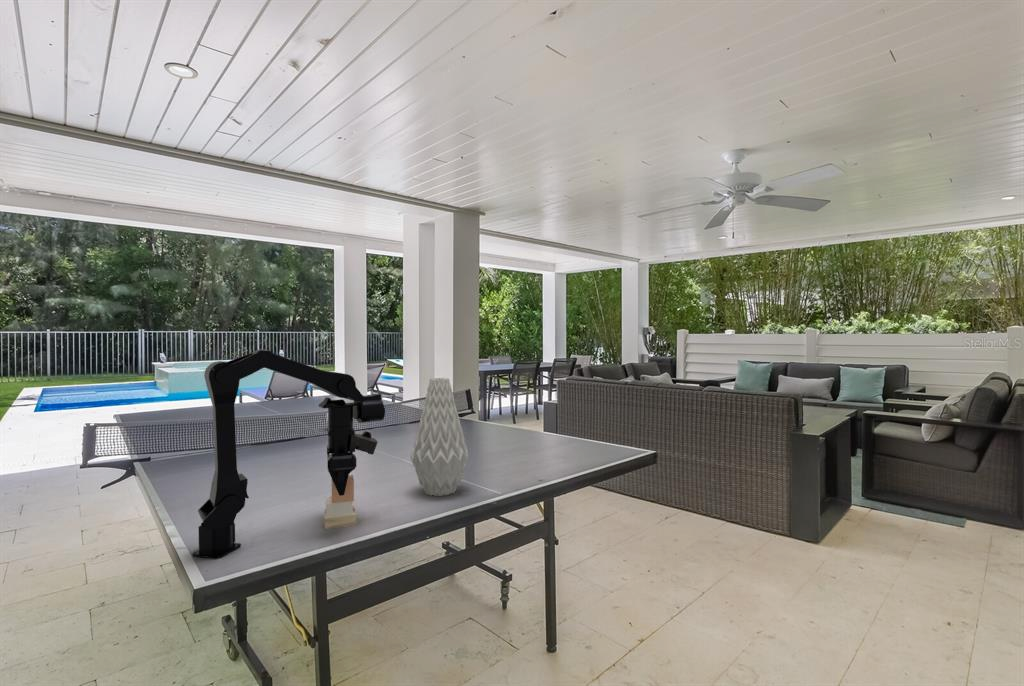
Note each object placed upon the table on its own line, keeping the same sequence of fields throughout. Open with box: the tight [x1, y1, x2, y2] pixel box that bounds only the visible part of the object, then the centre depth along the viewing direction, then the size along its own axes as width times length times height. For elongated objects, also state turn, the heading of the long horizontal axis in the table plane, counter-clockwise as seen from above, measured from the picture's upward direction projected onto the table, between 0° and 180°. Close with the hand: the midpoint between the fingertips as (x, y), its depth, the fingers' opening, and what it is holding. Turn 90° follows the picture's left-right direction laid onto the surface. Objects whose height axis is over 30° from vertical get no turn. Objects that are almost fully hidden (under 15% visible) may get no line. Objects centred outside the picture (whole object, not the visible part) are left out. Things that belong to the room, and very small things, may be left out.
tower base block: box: [324, 504, 357, 530], centre depth 123 cm, size 7×7×3 cm
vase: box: [410, 377, 470, 497], centre depth 147 cm, size 17×17×33 cm
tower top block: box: [325, 496, 354, 517], centre depth 123 cm, size 6×6×3 cm
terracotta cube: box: [331, 474, 355, 503], centre depth 123 cm, size 5×5×5 cm
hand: (341, 489), depth 122 cm, fingers open, 9 cm apart
